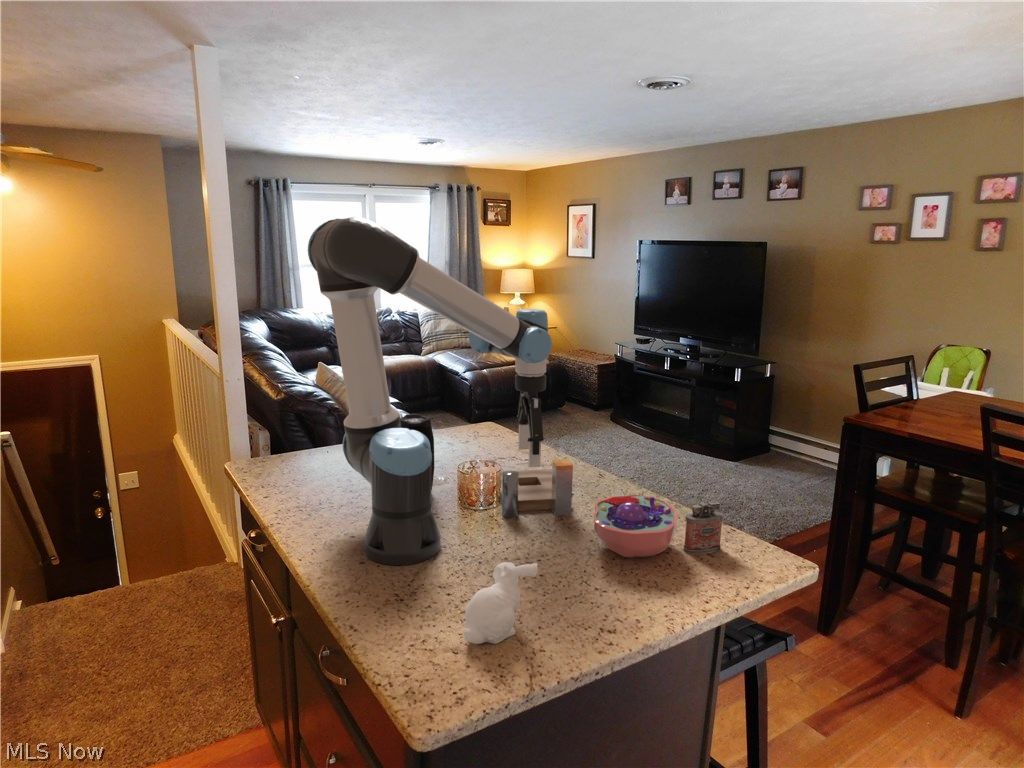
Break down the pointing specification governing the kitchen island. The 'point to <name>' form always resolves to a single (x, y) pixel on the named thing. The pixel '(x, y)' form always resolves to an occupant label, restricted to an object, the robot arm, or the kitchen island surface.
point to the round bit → (510, 494)
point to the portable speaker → (423, 426)
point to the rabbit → (496, 605)
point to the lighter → (703, 529)
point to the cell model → (635, 524)
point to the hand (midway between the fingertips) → (528, 457)
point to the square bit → (561, 487)
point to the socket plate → (533, 489)
